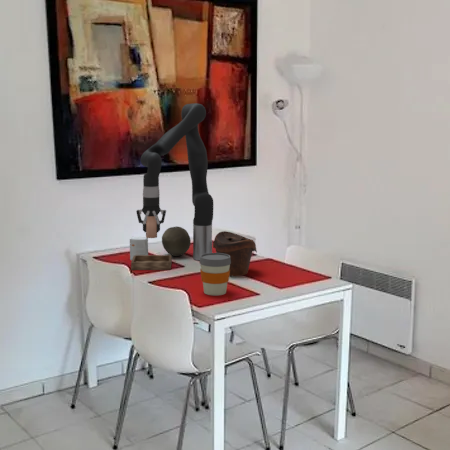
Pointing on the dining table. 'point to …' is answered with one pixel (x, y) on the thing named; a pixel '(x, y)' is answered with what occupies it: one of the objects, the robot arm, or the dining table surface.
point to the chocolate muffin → (235, 251)
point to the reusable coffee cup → (215, 272)
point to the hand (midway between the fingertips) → (151, 231)
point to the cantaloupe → (176, 241)
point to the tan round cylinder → (151, 227)
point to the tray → (151, 262)
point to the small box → (138, 246)
